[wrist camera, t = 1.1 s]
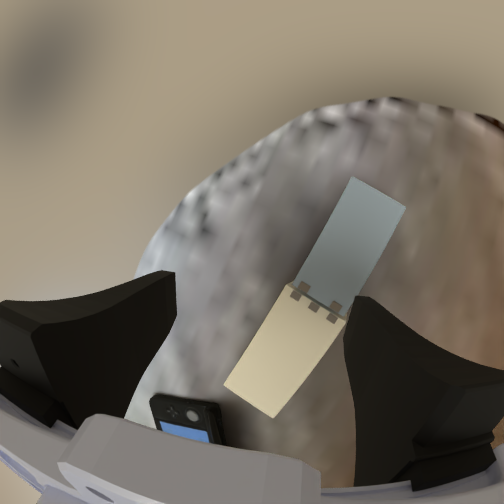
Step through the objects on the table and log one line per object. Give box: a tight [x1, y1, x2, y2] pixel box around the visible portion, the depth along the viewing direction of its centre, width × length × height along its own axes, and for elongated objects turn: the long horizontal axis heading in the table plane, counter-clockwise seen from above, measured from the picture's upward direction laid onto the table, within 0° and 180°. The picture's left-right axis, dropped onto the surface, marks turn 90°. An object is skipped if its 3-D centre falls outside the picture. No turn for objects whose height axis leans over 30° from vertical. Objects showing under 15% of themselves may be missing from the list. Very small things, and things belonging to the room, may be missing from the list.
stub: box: [292, 176, 406, 317], centre depth 20 cm, size 4×8×6 cm, turn 150°
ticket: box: [224, 281, 347, 418], centre depth 22 cm, size 5×10×5 cm, turn 150°
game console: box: [149, 395, 226, 446], centre depth 24 cm, size 16×14×9 cm
